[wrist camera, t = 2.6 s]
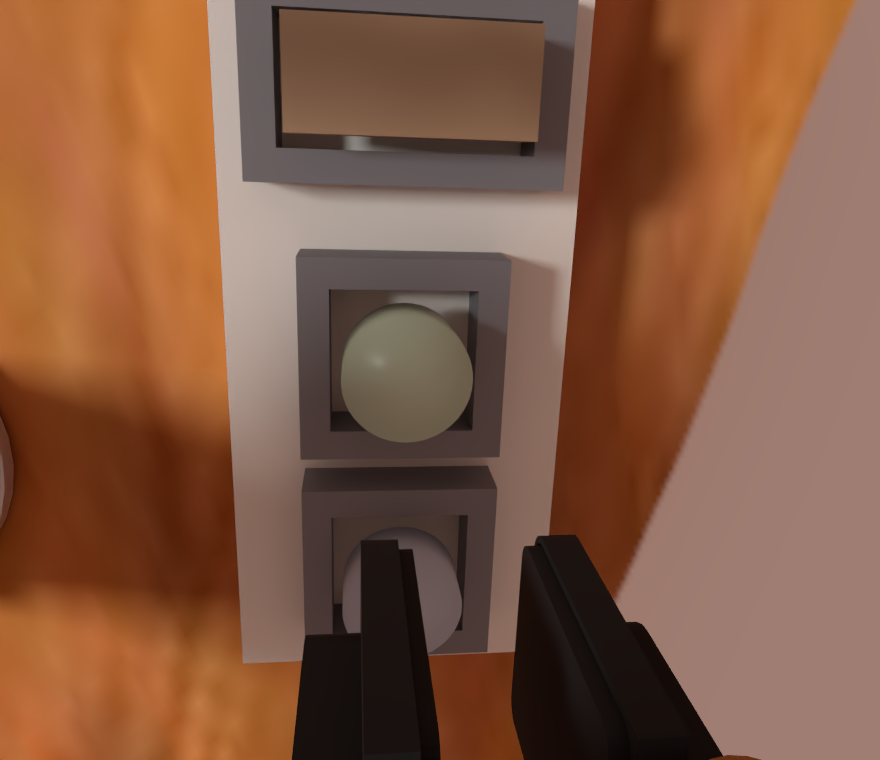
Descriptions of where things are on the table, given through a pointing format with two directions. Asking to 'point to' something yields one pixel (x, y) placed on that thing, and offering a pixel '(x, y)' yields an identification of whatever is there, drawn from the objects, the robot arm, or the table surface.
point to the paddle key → (410, 76)
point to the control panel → (376, 285)
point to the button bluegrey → (432, 578)
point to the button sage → (405, 373)
